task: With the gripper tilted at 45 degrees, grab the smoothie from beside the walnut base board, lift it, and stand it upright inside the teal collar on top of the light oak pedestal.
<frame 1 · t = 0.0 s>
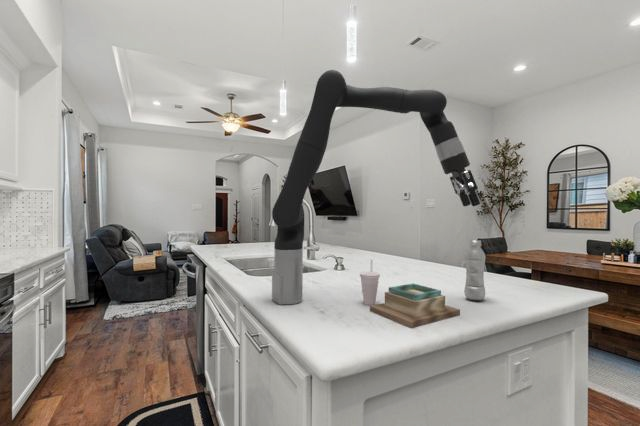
hand: (471, 205, 97), 31 cm above the counter, tool tilted 20°, fingers open, 8 cm apart
smoothie: (369, 304, 103), on the counter
plastic bottle: (474, 300, 108), on the counter
pedestal: (414, 312, 94), on the counter
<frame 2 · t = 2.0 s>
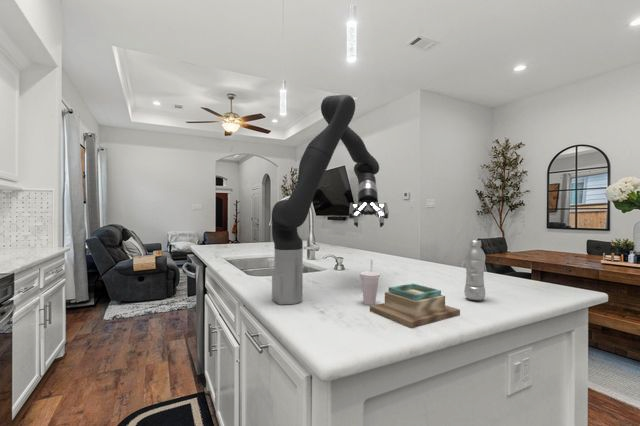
hand: (369, 225, 114), 24 cm above the counter, tool tilted 45°, fingers open, 8 cm apart
nothing on the counter moved.
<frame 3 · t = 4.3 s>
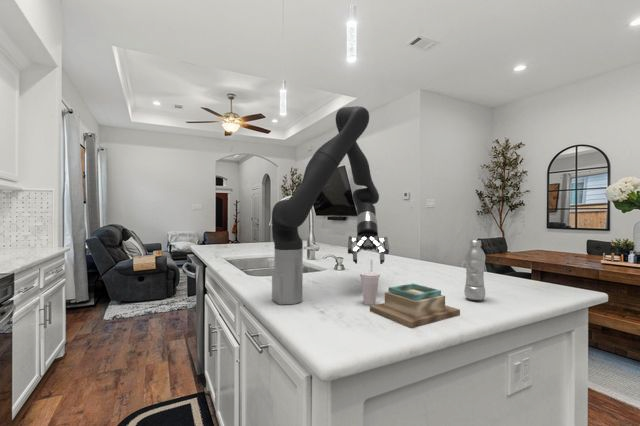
hand: (368, 262, 108), 12 cm above the counter, tool tilted 45°, fingers open, 8 cm apart
nothing on the counter moved.
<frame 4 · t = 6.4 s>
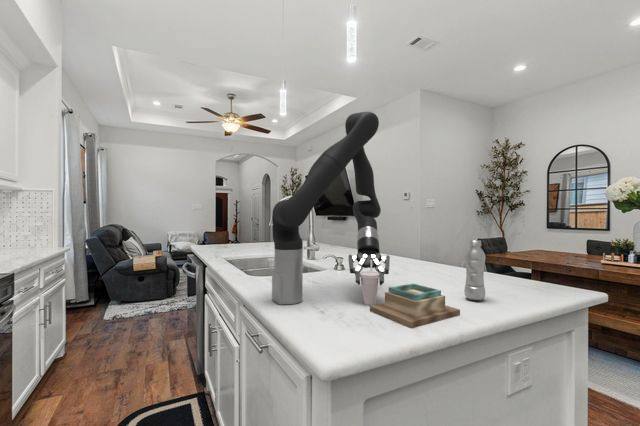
hand: (370, 283, 101), 7 cm above the counter, tool tilted 45°, fingers closed on smoothie, 6 cm apart
smoothie: (369, 304, 103), on the counter, touching gripper
everything else where it was.
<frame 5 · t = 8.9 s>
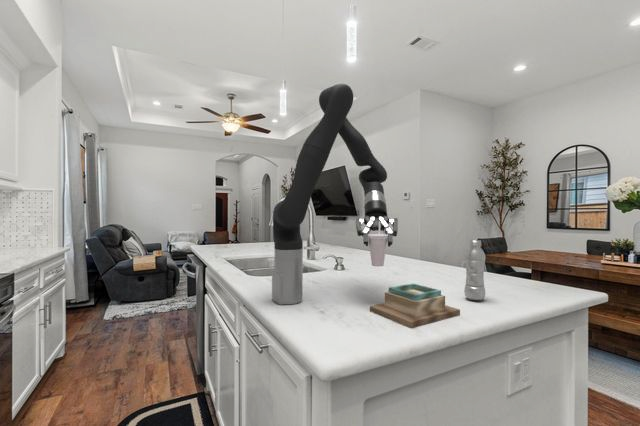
hand: (378, 244, 100), 19 cm above the counter, tool tilted 45°, fingers closed on smoothie, 6 cm apart
smoothie: (377, 265, 102), point 12 cm above the counter, touching gripper
everything else where it was.
when the fingers open (13 cm above the counter, at t = 11.7 s): smoothie stays where it is, resting on pedestal.
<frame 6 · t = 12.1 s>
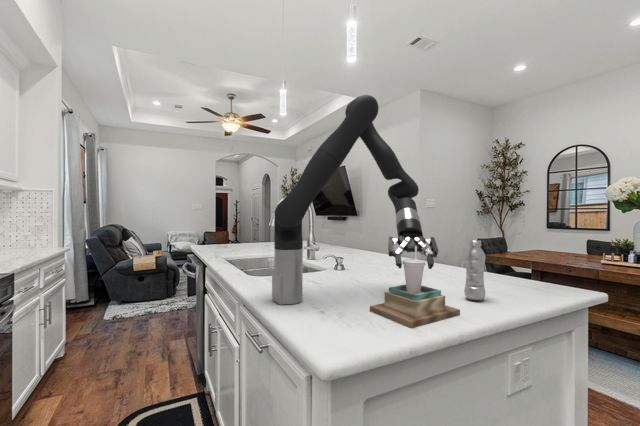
hand: (415, 267, 92), 14 cm above the counter, tool tilted 45°, fingers open, 8 cm apart
smoothie: (413, 294, 94), point 5 cm above the counter, touching pedestal
everything else where it was.
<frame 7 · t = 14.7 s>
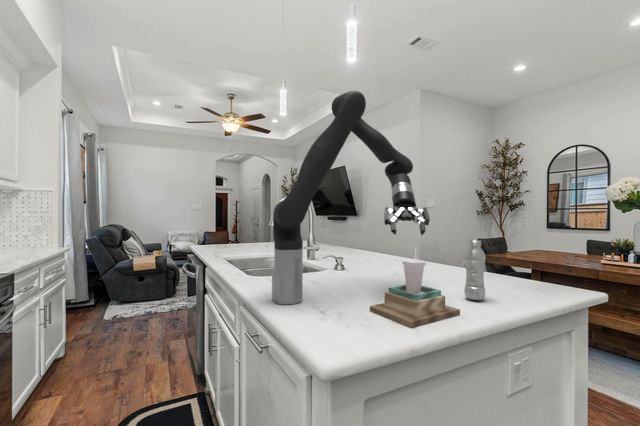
hand: (408, 232, 101), 23 cm above the counter, tool tilted 45°, fingers open, 8 cm apart
nothing on the counter moved.
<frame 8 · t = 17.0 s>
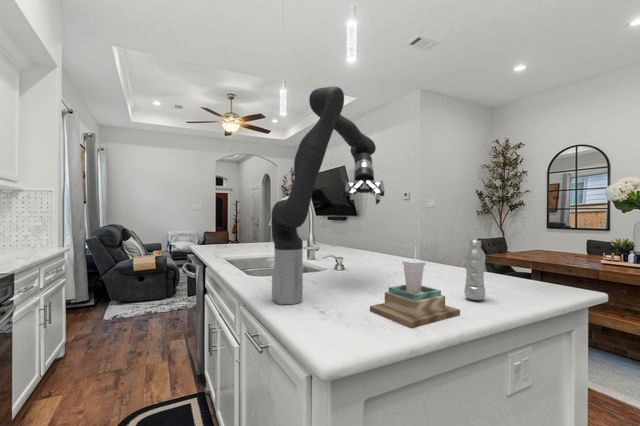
hand: (365, 202, 114), 33 cm above the counter, tool tilted 45°, fingers open, 8 cm apart
nothing on the counter moved.
at the end: smoothie 0.3 cm off-centre on the pedestal, point 5.3 cm above the pedestal's base; smoothie tilted 0°; the gripper is holding nothing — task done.
